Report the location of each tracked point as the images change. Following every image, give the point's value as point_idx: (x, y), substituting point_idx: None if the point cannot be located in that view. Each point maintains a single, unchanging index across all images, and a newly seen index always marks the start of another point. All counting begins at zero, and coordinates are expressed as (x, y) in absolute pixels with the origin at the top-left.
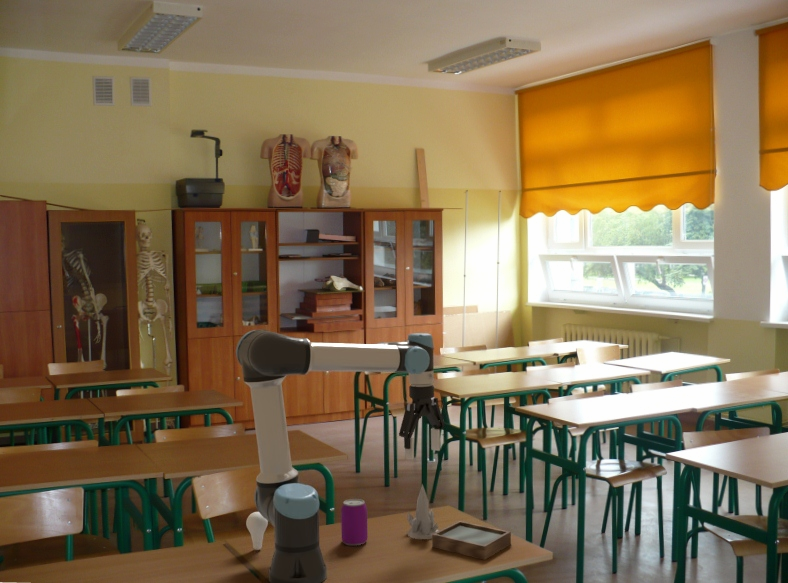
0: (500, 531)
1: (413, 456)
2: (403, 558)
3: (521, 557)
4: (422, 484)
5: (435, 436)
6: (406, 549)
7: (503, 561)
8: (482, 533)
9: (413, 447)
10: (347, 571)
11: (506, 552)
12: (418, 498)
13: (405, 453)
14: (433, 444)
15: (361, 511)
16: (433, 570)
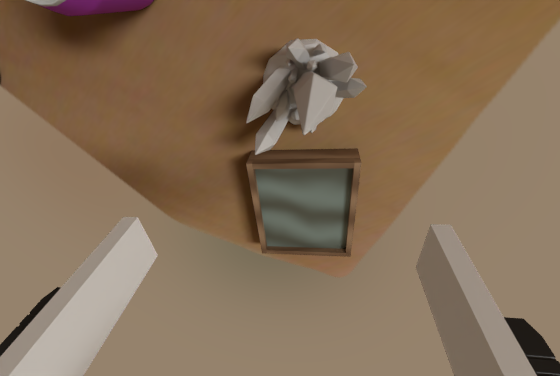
0: (346, 242)
1: (144, 269)
2: (170, 142)
3: (307, 264)
4: (304, 133)
5: (463, 363)
6: (204, 117)
7: (278, 254)
8: (328, 218)
9: (113, 322)
10: (47, 100)
11: None
12: (298, 99)
13: (101, 246)
14: (440, 275)
15: (62, 13)
16: (179, 204)
